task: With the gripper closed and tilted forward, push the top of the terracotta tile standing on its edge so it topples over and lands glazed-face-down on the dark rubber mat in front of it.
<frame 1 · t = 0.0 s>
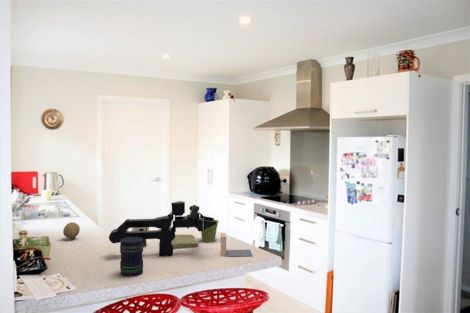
hand: (215, 220, 206), 17 cm above the counter, tool horizontal, fingers open, 9 cm apart
tile: (223, 253, 205), on the counter
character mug: (140, 246, 218), on the counter
mat: (238, 253, 206), on the counter
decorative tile: (179, 245, 224), on the counter
storage jar: (131, 273, 175), on the counter
natural sponge: (71, 239, 231), on the counter
plant pot: (208, 241, 231), on the counter
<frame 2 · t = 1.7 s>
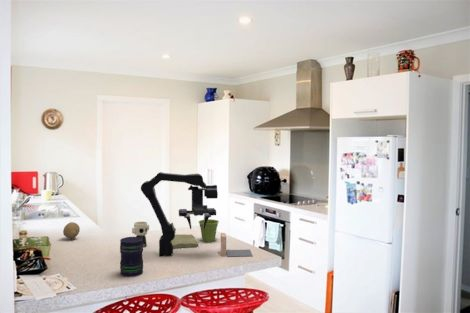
hand: (197, 228, 203), 13 cm above the counter, tool pointing down, fingers open, 6 cm apart
nothing on the counter moved.
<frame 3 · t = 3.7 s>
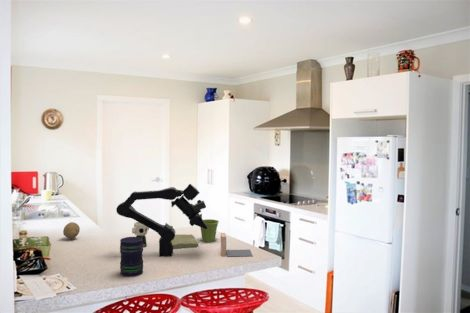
hand: (206, 228, 204), 13 cm above the counter, tool tilted 45°, fingers closed
nothing on the counter moved.
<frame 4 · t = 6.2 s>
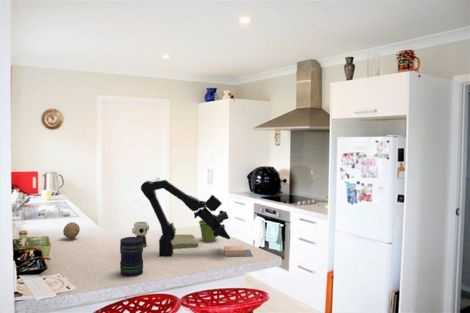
hand: (229, 238, 205), 8 cm above the counter, tool tilted 45°, fingers closed
tile: (224, 250, 205), point 2 cm above the counter, tilted 90°, touching mat
everything else where it was.
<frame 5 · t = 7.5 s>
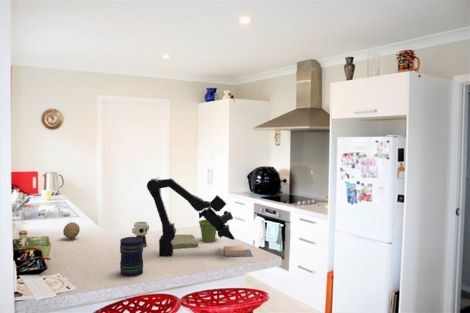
hand: (233, 239, 205), 8 cm above the counter, tool tilted 45°, fingers closed
nothing on the counter moved.
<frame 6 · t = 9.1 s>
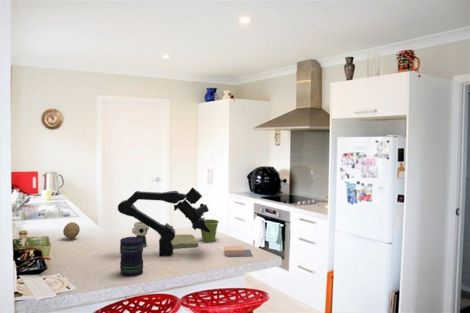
hand: (209, 231, 204), 11 cm above the counter, tool tilted 45°, fingers closed
nothing on the counter moved.
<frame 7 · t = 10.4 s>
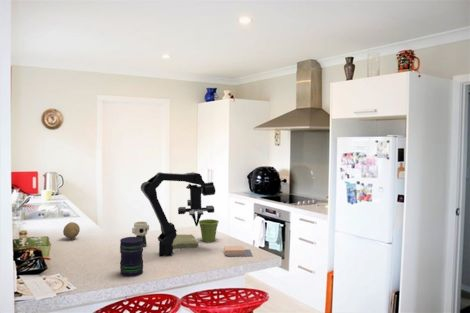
hand: (196, 226, 209), 13 cm above the counter, tool pointing down, fingers closed
nothing on the counter moved.
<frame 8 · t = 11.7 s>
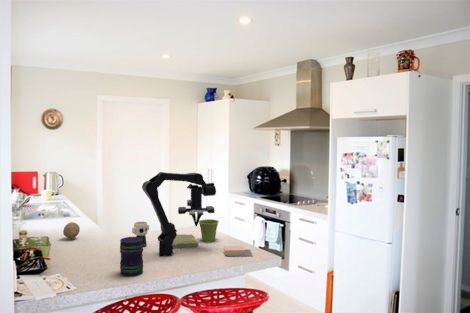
hand: (196, 226, 210), 13 cm above the counter, tool pointing down, fingers closed
nothing on the counter moved.
at the end: tile tilted 90°; tile point 1.6 cm above the counter; tile 7.4 cm from the mat (horizontally) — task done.
